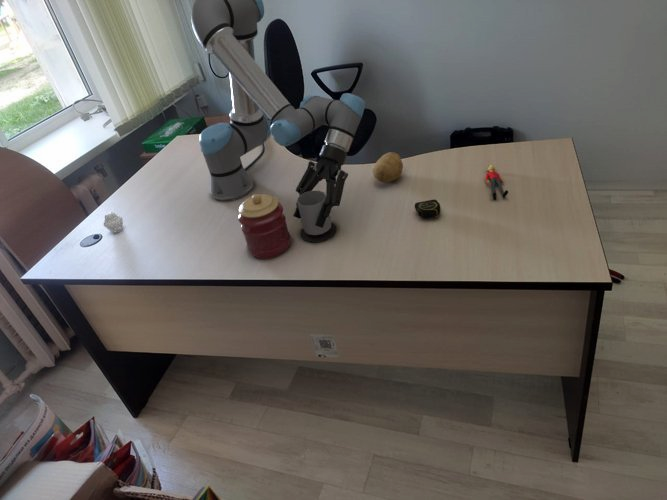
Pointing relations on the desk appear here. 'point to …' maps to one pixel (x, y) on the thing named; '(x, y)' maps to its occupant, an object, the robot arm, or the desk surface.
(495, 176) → the person figure
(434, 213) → the tape measure
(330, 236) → the coaster
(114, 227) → the beige knobbly lump
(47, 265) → the desk surface
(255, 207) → the kitchen canister
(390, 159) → the potato
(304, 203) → the cup
